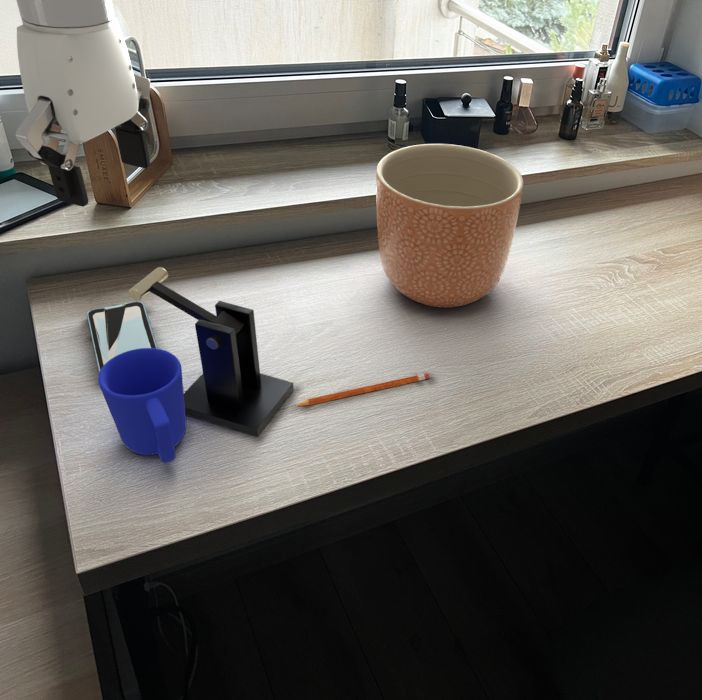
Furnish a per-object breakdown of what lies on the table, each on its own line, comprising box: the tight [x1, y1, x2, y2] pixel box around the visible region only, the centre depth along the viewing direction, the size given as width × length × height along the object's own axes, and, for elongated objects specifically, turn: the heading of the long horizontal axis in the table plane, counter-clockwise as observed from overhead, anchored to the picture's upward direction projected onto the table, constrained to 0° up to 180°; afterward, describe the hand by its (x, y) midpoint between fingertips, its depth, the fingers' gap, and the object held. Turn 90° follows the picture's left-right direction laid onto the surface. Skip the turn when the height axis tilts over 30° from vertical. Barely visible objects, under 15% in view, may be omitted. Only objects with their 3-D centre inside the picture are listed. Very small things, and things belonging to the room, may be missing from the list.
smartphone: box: [86, 300, 159, 373], centre depth 95 cm, size 7×1×15 cm
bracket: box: [184, 300, 295, 437], centre depth 85 cm, size 11×9×13 cm
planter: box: [375, 143, 525, 308], centre depth 107 cm, size 21×21×19 cm
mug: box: [97, 348, 187, 464], centre depth 79 cm, size 8×12×10 cm
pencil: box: [295, 372, 430, 407], centre depth 92 cm, size 1×18×1 cm, turn 115°
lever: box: [128, 266, 244, 340], centre depth 82 cm, size 12×5×2 cm, turn 75°
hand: (106, 182), depth 75 cm, fingers open, 9 cm apart
